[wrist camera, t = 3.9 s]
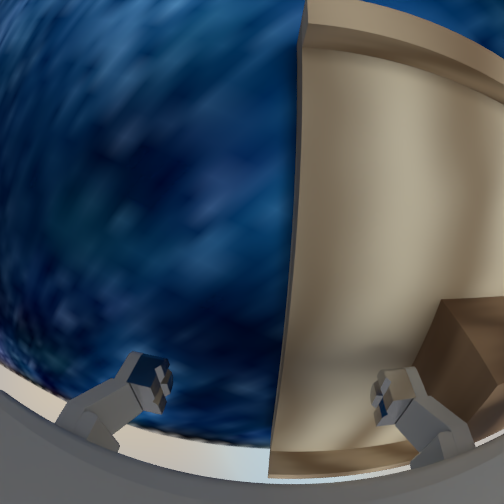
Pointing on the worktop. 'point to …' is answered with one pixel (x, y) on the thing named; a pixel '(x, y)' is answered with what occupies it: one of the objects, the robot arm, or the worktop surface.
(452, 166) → the trap deck
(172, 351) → the worktop surface
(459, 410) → the walnut block
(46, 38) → the worktop surface
